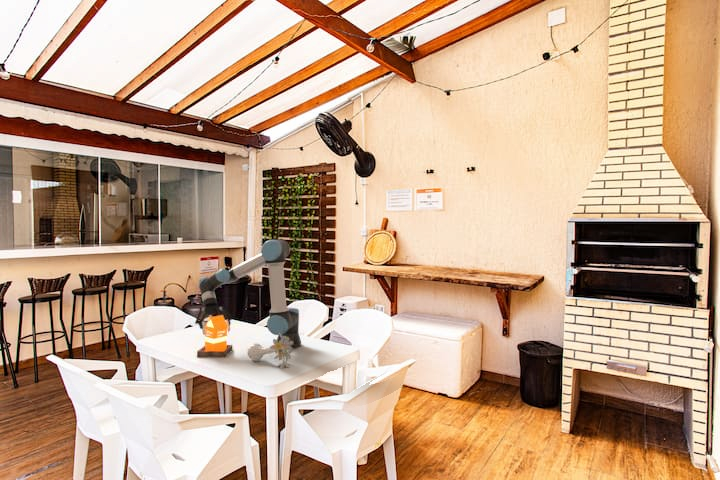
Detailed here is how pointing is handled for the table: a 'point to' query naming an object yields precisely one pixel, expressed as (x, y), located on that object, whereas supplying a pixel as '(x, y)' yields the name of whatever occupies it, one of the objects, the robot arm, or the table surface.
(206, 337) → the orange juice
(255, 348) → the flower vase
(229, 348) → the walnut tray
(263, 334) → the table surface
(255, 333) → the table surface
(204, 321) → the teacup with lid
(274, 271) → the robot arm
